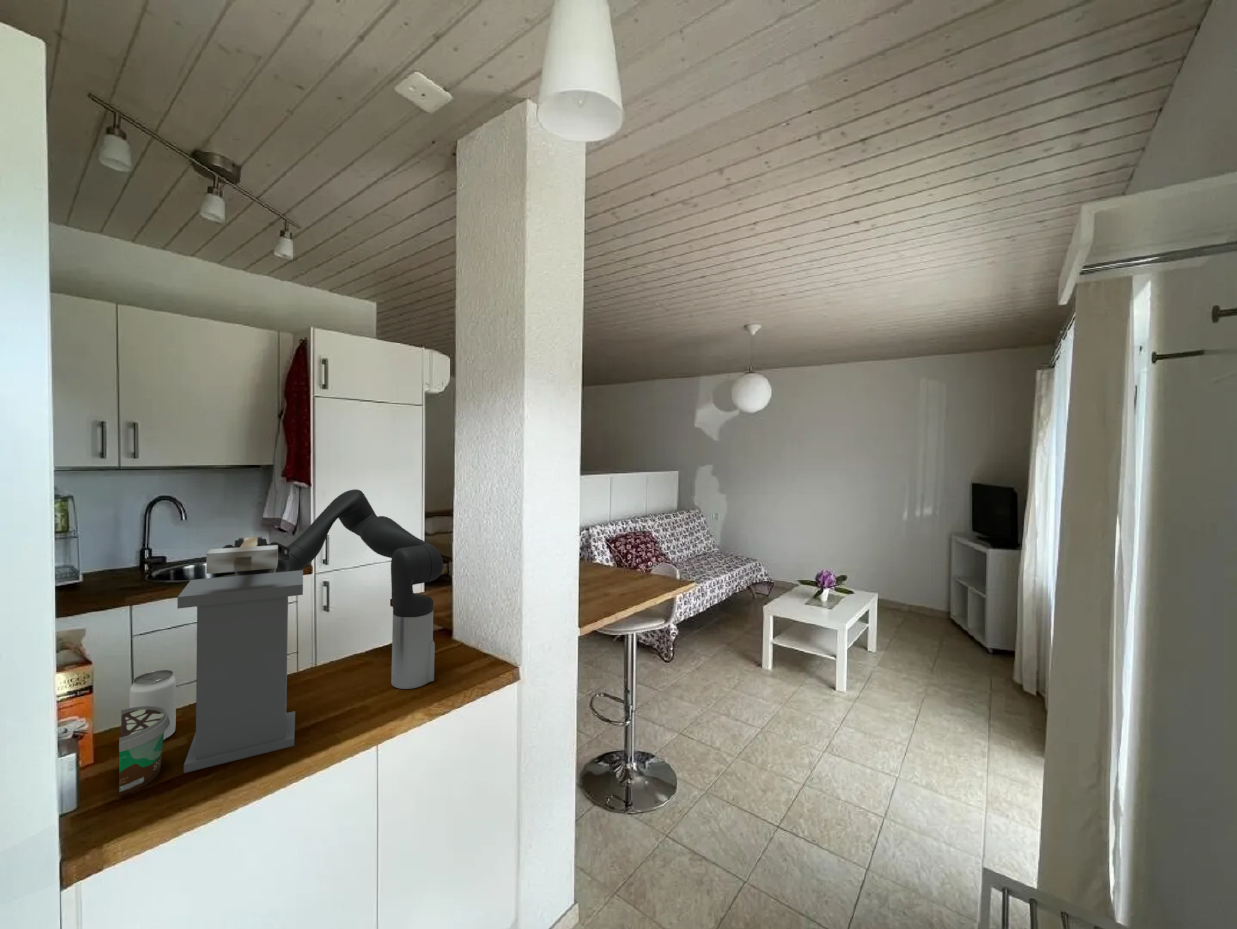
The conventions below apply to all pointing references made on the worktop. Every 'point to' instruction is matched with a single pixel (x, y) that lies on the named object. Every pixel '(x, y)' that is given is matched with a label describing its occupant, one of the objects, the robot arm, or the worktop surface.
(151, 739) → the food container
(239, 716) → the stand
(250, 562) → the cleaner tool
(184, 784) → the worktop surface
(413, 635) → the robot arm
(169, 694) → the can
